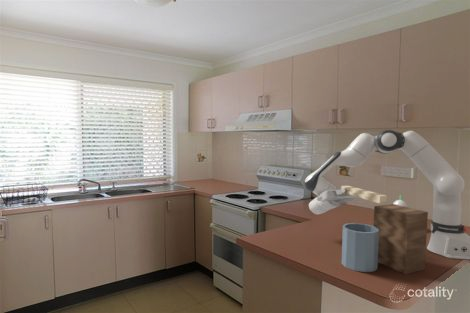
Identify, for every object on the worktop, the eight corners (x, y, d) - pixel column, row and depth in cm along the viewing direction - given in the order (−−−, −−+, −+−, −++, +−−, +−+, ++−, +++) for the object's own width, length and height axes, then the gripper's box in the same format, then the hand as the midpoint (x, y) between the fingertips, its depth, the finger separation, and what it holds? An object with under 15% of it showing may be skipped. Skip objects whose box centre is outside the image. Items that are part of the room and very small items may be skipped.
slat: (340, 192, 145) (341, 185, 145) (347, 191, 147) (347, 185, 147) (379, 203, 125) (380, 196, 125) (386, 202, 127) (387, 195, 127)
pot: (375, 261, 135) (377, 225, 134) (378, 274, 122) (380, 234, 121) (341, 256, 140) (343, 221, 139) (341, 268, 127) (342, 230, 126)
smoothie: (401, 226, 190) (403, 194, 189) (409, 230, 182) (411, 196, 180) (388, 226, 190) (389, 194, 188) (395, 230, 181) (397, 196, 180)
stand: (372, 259, 137) (374, 206, 135) (391, 255, 142) (393, 204, 140) (405, 274, 122) (408, 214, 121) (424, 269, 127) (427, 212, 126)
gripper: (313, 194, 151) (330, 184, 139) (345, 191, 159) (363, 181, 148) (316, 206, 148) (334, 197, 137) (349, 203, 157) (368, 194, 145)
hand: (350, 189), depth 142 cm, fingers closed on slat, 4 cm apart
